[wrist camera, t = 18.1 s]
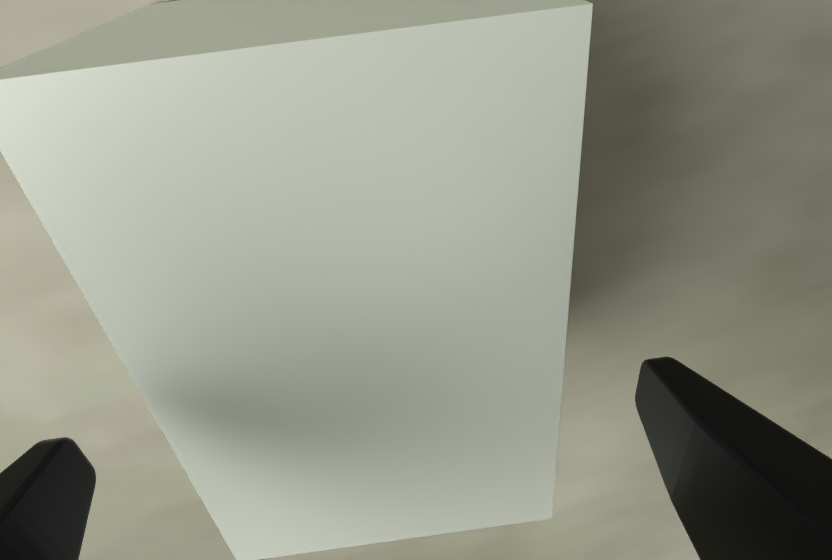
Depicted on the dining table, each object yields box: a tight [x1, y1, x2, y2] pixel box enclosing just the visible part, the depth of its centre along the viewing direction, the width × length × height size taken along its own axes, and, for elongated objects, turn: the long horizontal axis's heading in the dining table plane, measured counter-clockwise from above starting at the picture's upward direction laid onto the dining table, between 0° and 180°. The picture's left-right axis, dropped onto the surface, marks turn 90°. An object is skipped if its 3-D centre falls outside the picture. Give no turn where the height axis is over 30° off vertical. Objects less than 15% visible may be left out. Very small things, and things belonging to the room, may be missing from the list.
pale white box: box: [0, 0, 593, 560], centre depth 12 cm, size 11×8×7 cm
